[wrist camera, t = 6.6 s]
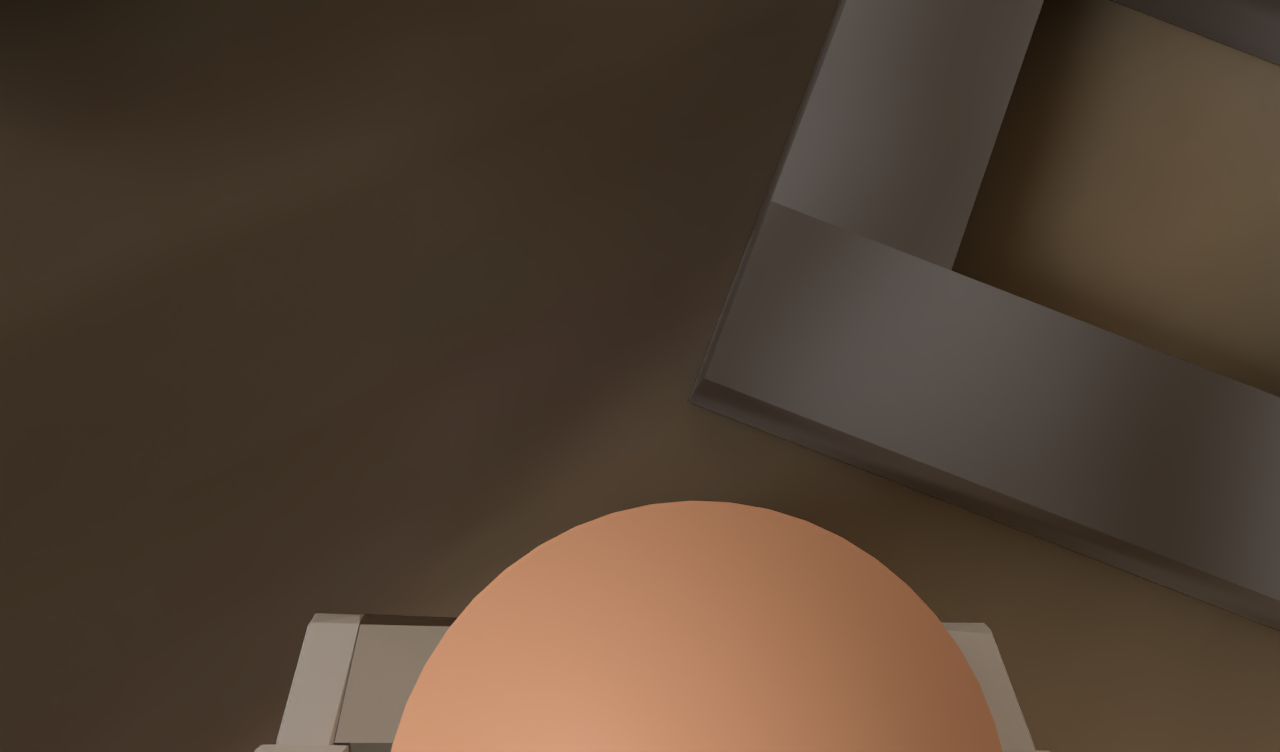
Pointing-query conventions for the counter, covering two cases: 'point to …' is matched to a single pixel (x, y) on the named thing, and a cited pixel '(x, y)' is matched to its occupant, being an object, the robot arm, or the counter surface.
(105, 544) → the counter surface
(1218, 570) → the brown wooden tall frame
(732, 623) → the peg
